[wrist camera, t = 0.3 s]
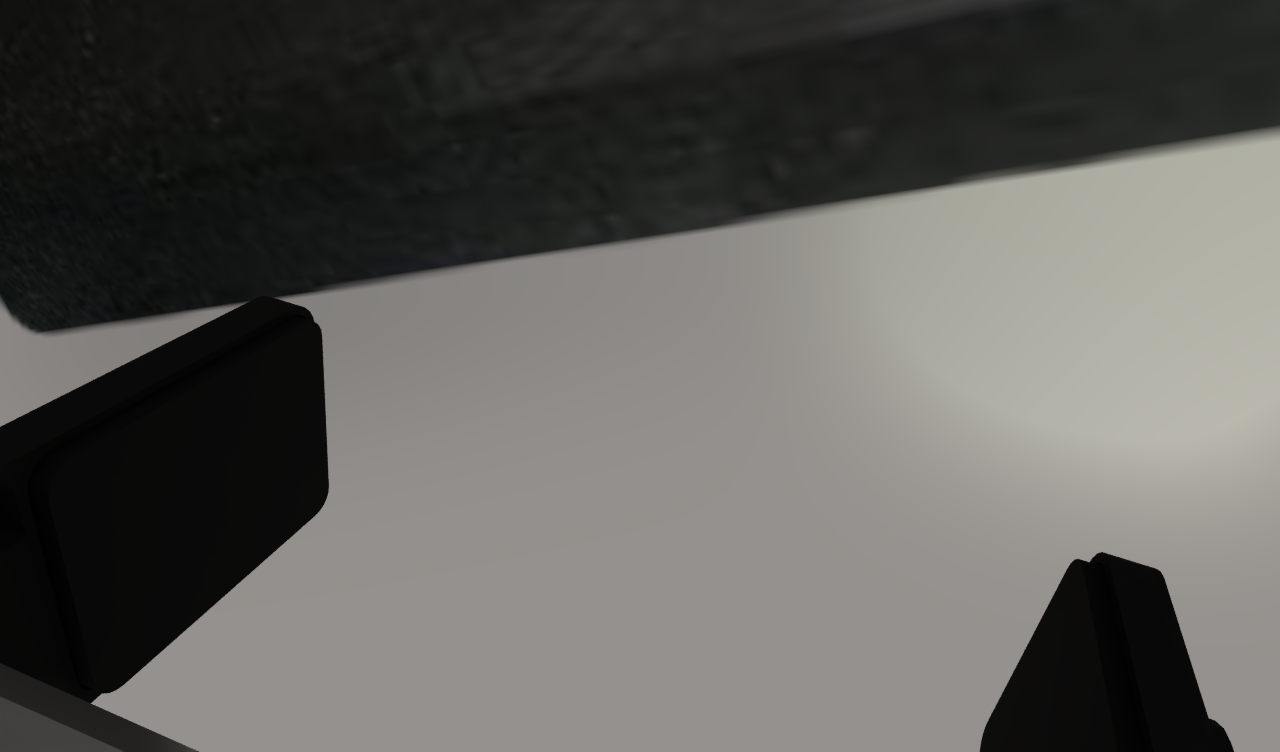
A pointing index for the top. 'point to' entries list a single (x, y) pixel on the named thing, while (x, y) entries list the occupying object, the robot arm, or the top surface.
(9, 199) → the top surface
